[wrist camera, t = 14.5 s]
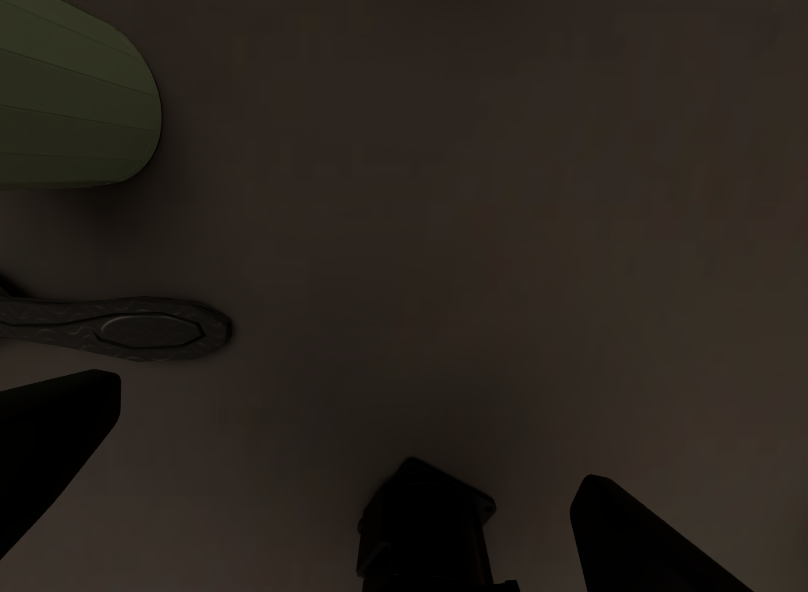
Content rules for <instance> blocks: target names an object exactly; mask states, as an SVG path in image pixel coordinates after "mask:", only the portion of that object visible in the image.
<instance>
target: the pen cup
mask: <svg viewBox="0 0 808 592" xmlns="http://www.w3.org/2000/svg"><path fill="white" fill-rule="evenodd" d="M161 124H162V112H161V102H160V98H159V93H158V89H157V86H156V83H155V80H154V78H153V76H152V74H151V71H150V69H149V67H148V66H147V64H146V62H145V60H144V59H143V57H142V56H141V54H140V53H139V52H138V50H137V49H136V47H135V46H134V45H133V44H132V43H131V42H130V41H129V40H128V38H127V37H126V36H125V35H123V34H122V33H121V32H120V31H119V30H118V29H117V28H115V27H114V26H113V25H111V24H110V23H109V22H107V21H106V20H104V19H102V18H100V17H98V16H97V15H95V14H93V13H91V12H89V11H88V10H86V9H85V8H83V7H82V6H80V5H78V4H76V3H74V2H72V1H70V0H0V191H18V190H42V189H65V188H88V187H96V186H100V185H110V184H116V183H119V182H122V181H125V180H126V179H128V178H130V177H132V176H134V175H135V174H136V173H138V172H139V171H140V170H141V169H142V168H143V167H144V166H145V165H146V164H147V163H148V161H149V160H150V158H151V157H152V155H153V153H154V151H155V149H156V147H157V144H158V141H159V138H160V132H161Z"/></svg>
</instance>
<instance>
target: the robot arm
mask: <svg viewBox="0 0 808 592" xmlns="http://www.w3.org/2000/svg"><path fill="white" fill-rule="evenodd" d="M120 410H121V379H120V376H119V375H118V374H116V373H112V372H108V371H103V370H98V369H91V370H87V371H83V372H79V373H75V374H70V375H66V376H62V377H58V378H54V379H50V380H46V381H42V382H37V383H33V384H29V385H25V386H21V387H17V388H13V389H8V390H4V391H0V560H1V559H2V558H3V557H4V556H5V555H6V553H7V552H8V551H9V550H10V549H11V548H12V547H13V546H14V545H15V544H16V543H17V542H18V541H19V540H20V539H21V537H22V536H23V535H24V534H25V533H26V532H27V531H28V530H29V529H30V528H31V527H32V526H33V525H34V524H35V523H36V522H37V520H38V519H39V518H40V517H41V516H42V515H43V514H44V513H45V512H46V511H47V509H48V508H49V507H50V506H51V505H52V504H53V503H54V502H55V500H56V499H57V498H58V497H59V496H60V494H61V493H62V492H63V491H64V489H65V488H66V487H67V486H68V484H69V483H70V482H71V481H72V479H73V478H74V477H75V476H76V474H77V473H78V472H79V470H80V469H81V468H82V467H83V465H84V464H85V463H86V462H87V460H88V459H89V458H90V456H91V455H92V454H93V453H94V451H95V450H96V449H97V448H98V446H99V445H100V444H101V442H102V441H103V440H104V439H105V437H106V436H107V435H108V434H109V432H110V431H111V430H112V428H113V427H114V426H115V424H116V423H117V421H118V418H119V416H120ZM410 466H414V467H415V468H409V467H410ZM486 506H489V507H486ZM495 511H496V504H495V501H494V500H493V499H492V498H490V497H488V496H486V495H484V494H482V493H481V492H479V491H477V490H475V489H473V488H471V487H469V486H467V485H465V484H463V483H461V482H460V481H458V480H456V479H454V478H452V477H450V476H448V475H446V474H444V473H442V472H440V471H439V470H437V469H435V468H433V467H431V466H429V465H427V464H425V463H423V462H421V461H419V460H418V459H415V458H409V459H407V460H406V461H405V462H404V463H403V464H402V466H401V467H400V468H399V470H398V471H397V472H396V474H395V475H394V476H393V478H392V479H391V480H390V482H387V483H385V484H383V486H382V487H381V488H380V489H379V491H378V492H377V493H376V495H375V496H374V497H373V499H372V500H371V501H370V503H369V504H368V505H367V507H366V508H365V509H364V513H363V517H362V518H361V520H360V521H359V523H358V528H357V531H358V533H359V534H360V535H361V537H360V544H359V552H358V560H357V568H356V572H357V576H358V577H359V578H361V579H364V580H363V589H362V592H520V589H519V586H518V583H517V581H516V580H507V581H505V583H500V584H494V582H493V577H492V572H491V568H490V563H489V558H488V554H487V549H486V544H485V539H484V535H483V530H482V526H483V525H484V524H485V523H486V522H487V521H488V520H489V519H490V517H491V516H492V515H493V514H494V513H495ZM570 519H571V524H572V528H573V532H574V536H575V541H576V545H577V549H578V553H579V557H580V562H581V566H582V570H583V574H584V578H585V583H586V587H587V591H588V592H753V591H752V590H751V589H750V588H748V587H747V586H746V585H745V584H743V583H742V582H741V581H740V580H738V579H737V578H736V577H734V576H733V575H732V574H731V573H729V572H728V571H727V570H726V569H724V568H723V567H722V566H720V565H719V564H718V563H717V562H715V561H714V560H713V559H712V558H710V557H709V556H708V555H707V554H705V553H704V552H703V551H701V550H700V549H699V548H698V547H696V546H695V545H694V544H693V543H691V542H690V541H689V540H687V539H686V538H685V537H684V536H682V535H681V534H680V533H679V532H677V531H676V530H675V529H674V528H672V527H671V526H670V525H668V524H667V523H666V522H665V521H663V520H662V519H661V518H660V517H658V516H657V515H656V514H654V513H653V512H652V511H651V510H649V509H648V508H647V507H646V506H644V505H643V504H642V503H641V502H639V501H638V500H637V499H635V498H634V497H633V496H632V495H630V494H629V493H628V492H627V491H625V490H624V489H623V488H621V487H620V486H619V485H618V484H616V483H615V482H614V481H613V480H611V479H609V478H607V477H602V476H597V475H592V474H590V475H587V476H586V477H585V478H584V479H583V481H582V483H581V485H580V487H579V489H578V491H577V493H576V496H575V498H574V500H573V502H572V504H571V507H570Z"/></svg>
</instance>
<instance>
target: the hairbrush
mask: <svg viewBox="0 0 808 592" xmlns="http://www.w3.org/2000/svg"><path fill="white" fill-rule="evenodd" d="M113 313H120V314H114V315H109V316H103V317H97V316H102V315H107V314H113ZM91 317H97V318H91ZM86 318H91V319H86ZM81 319H86V320H81ZM75 320H80V321H75ZM70 321H74V322H70ZM202 333H205V335H203V336H201V335H202ZM199 336H201V337H199ZM231 336H232V333H231V323H230V319H229V318H227V317H226V316H224V315H222V314H220V313H219V312H217V311H215V310H214V309H212V308H210V307H208V306H206V305H204V304H202V303H200V302H198V301H189V300H179V299H168V298H157V297H146V296H142V297H131V298H120V299H109V300H99V301H88V302H71V301H59V300H47V299H34V298H22V297H11V296H10V295H9V294H8V293H7V292H6V291H5V290H4V289H3V288H2V287H1V286H0V337H8V338H14V339H20V340H26V341H32V342H38V343H44V344H50V345H56V346H62V347H68V348H74V349H79V350H84V351H89V352H93V353H98V354H103V355H108V356H113V357H118V358H122V359H127V360H132V361H137V362H143V361H164V360H186V359H195V358H197V357H199V356H201V355H203V354H205V353H207V352H209V351H211V350H213V349H214V348H216V347H218V346H220V345H222V344H224V343H225V342H226V341H228V339H229V338H230V337H231ZM196 337H199V338H197V339H195V340H193V341H191V342H189V343H186V342H188V341H190V340H192V339H194V338H196Z"/></svg>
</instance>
